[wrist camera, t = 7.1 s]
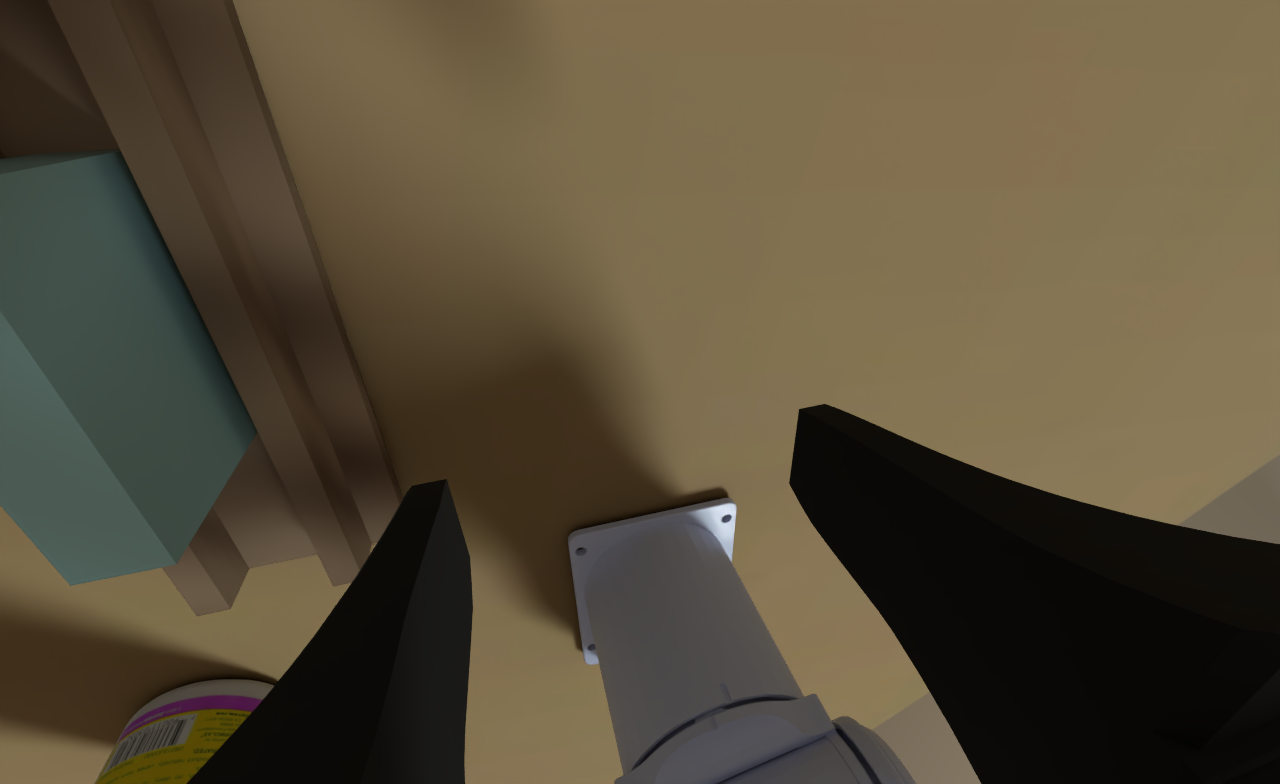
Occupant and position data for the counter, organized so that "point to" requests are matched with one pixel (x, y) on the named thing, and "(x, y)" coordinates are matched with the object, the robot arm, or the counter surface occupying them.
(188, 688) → the supplement bottle
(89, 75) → the track
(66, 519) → the teal rectangular block
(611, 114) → the counter surface
